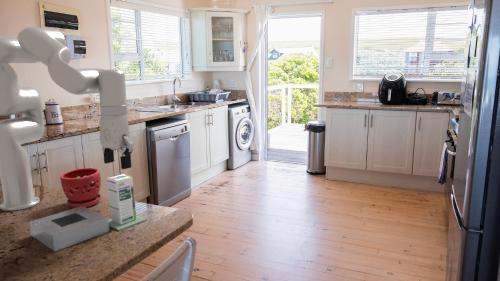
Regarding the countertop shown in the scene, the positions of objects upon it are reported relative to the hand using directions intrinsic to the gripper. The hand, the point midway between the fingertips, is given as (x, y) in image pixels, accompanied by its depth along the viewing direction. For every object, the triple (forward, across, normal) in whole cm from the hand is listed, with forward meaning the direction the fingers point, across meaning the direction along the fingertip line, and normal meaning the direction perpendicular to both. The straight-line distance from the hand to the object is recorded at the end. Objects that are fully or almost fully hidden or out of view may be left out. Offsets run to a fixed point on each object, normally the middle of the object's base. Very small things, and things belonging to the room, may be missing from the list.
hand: (117, 165), depth 119 cm
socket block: (+19, -4, -15) cm, 24 cm away
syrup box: (+18, +1, 0) cm, 18 cm away
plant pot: (+20, -26, 0) cm, 32 cm away
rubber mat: (+19, +1, 0) cm, 19 cm away
